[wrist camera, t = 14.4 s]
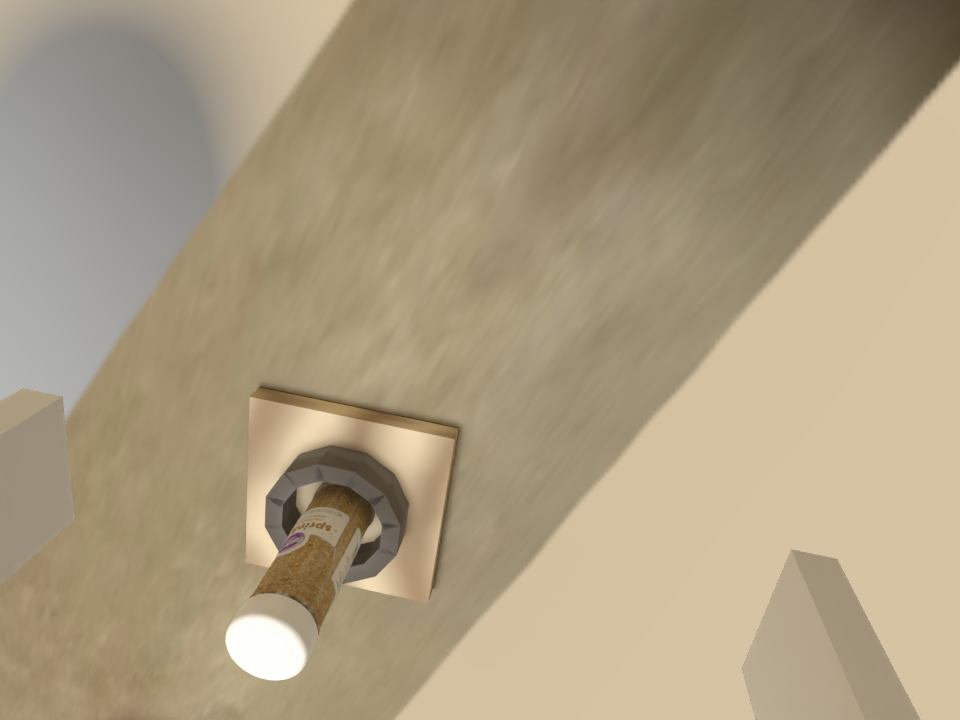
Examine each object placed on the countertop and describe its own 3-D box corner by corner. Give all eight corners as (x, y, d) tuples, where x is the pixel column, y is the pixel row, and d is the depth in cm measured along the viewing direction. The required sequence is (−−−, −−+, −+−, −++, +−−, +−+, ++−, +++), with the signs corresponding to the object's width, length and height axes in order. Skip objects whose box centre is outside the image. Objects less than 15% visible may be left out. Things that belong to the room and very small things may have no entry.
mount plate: (458, 428, 47) (447, 458, 43) (432, 589, 52) (420, 628, 49) (259, 387, 48) (232, 413, 44) (254, 549, 53) (229, 585, 49)
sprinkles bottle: (342, 465, 47) (257, 603, 35) (390, 509, 48) (323, 659, 36) (300, 500, 49) (205, 644, 37) (347, 542, 50) (269, 697, 37)
